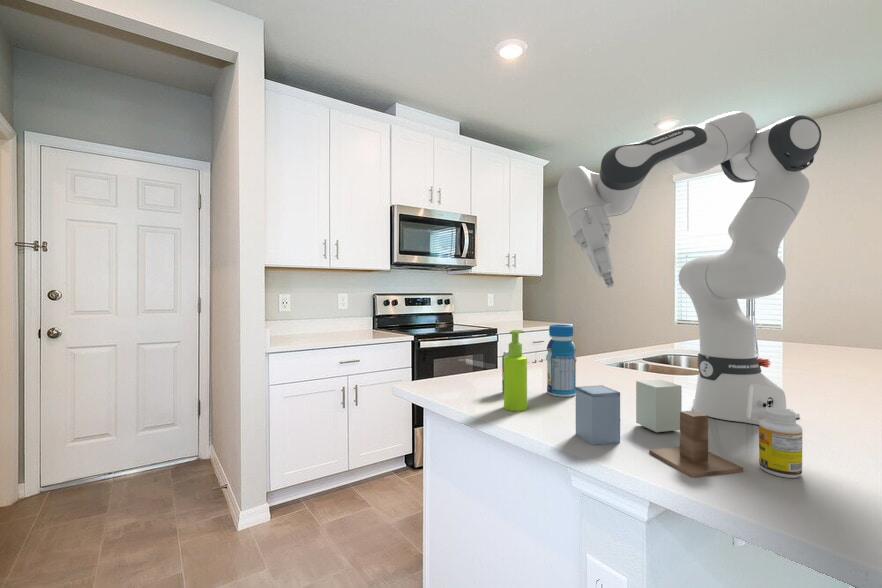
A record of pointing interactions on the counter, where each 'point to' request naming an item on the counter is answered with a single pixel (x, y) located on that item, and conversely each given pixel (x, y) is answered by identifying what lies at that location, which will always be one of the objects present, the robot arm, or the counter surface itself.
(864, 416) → the counter surface
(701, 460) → the post
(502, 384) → the soda can
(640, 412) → the pale green block
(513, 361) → the soap dispenser
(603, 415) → the pale blue tall block
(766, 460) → the supplement bottle
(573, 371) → the beverage bottle
